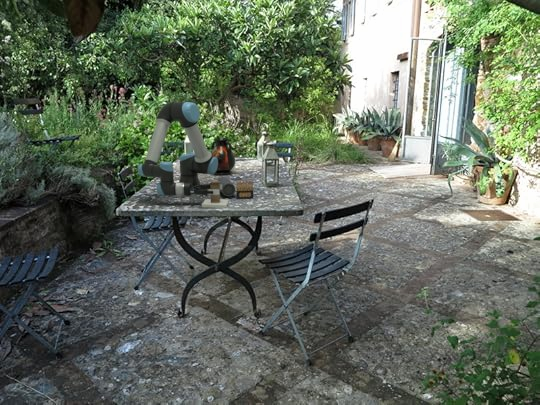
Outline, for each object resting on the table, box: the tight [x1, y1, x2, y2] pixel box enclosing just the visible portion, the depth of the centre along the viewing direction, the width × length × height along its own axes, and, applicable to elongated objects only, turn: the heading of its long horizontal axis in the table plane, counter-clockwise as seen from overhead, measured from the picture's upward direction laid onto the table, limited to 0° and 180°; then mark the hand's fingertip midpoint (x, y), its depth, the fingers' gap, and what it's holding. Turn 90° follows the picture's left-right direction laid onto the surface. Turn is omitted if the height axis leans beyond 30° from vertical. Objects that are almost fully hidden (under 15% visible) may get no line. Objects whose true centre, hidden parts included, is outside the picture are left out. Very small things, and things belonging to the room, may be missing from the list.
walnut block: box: [209, 180, 221, 203], centre depth 265 cm, size 4×5×12 cm
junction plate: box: [201, 198, 230, 209], centre depth 266 cm, size 14×14×2 cm
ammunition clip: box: [235, 179, 255, 200], centre depth 280 cm, size 11×2×12 cm, turn 100°
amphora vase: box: [210, 137, 236, 176], centre depth 359 cm, size 22×22×28 cm
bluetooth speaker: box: [216, 176, 236, 197], centre depth 291 cm, size 23×9×10 cm, turn 15°
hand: (220, 189), depth 264 cm, fingers open, 13 cm apart
